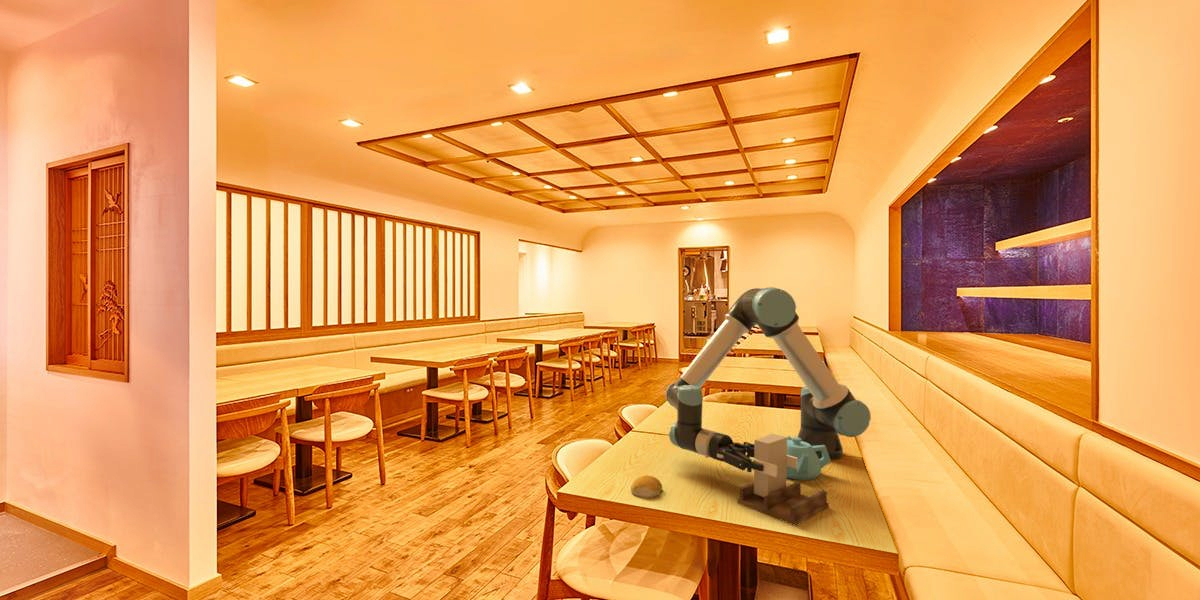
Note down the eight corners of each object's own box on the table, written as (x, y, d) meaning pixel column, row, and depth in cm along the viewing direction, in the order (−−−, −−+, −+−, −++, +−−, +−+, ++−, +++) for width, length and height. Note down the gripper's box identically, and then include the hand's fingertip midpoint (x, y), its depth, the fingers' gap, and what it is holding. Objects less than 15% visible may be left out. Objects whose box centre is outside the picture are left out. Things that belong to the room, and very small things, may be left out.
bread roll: (663, 487, 135) (663, 473, 135) (658, 500, 127) (658, 485, 127) (634, 483, 138) (634, 469, 138) (627, 496, 129) (627, 481, 129)
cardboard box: (772, 485, 131) (773, 433, 131) (786, 489, 128) (787, 437, 128) (753, 493, 125) (754, 439, 125) (767, 498, 122) (768, 443, 122)
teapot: (805, 487, 136) (805, 449, 136) (759, 471, 148) (760, 436, 148) (833, 475, 145) (833, 440, 145) (787, 461, 157) (788, 428, 157)
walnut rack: (771, 487, 135) (771, 473, 135) (828, 507, 123) (828, 491, 123) (737, 502, 125) (738, 487, 125) (796, 525, 113) (796, 508, 112)
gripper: (736, 450, 147) (807, 472, 130) (690, 466, 134) (762, 492, 116) (737, 426, 147) (808, 444, 130) (690, 439, 133) (763, 461, 116)
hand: (786, 467), depth 123 cm, fingers closed on cardboard box, 9 cm apart
